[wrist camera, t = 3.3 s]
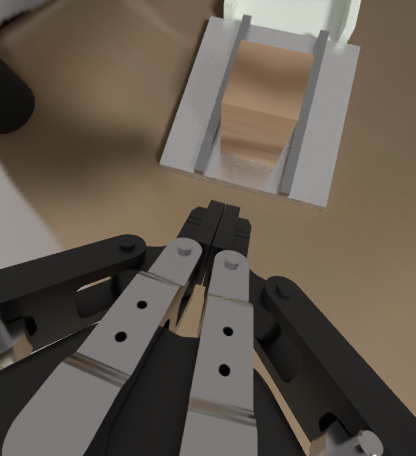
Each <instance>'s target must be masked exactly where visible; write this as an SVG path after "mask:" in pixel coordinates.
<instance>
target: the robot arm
mask: <svg viewBox="0 0 416 456" xmlns="http://www.w3.org/2000/svg"><path fill="white" fill-rule="evenodd" d="M224 208H225V210H224ZM239 211H240V207H236V206H232V205H229V204H226V207H225V203H221V202H217V201H214V200H211V202H210V204H209V206H208V208H207V209H206V208H202V207H197V208H195V209H194V210H192V211H191V213H190V215H189V217H188V218H187V220H186V222H185V224H184V226H183V227H182V229H181V231H180V233H179V234H178V236H177V238H176V239H173V240H172V241H170V242H169V244H168V245H166V246H161V247H152V246H146V243H145V241H144V240H143V239H142V238H140V237H138V236H136V235H130V234H125V235H120V236H116V237H113V238H109V239H105V240H102V241H98V242H95V243H91V244H88V245H84V246H81V247H77V248H74V249H70V250H67V251H63V252H60V253H56V254H52V255H49V256H45V257H42V258H38V259H35V260H31V261H28V262H24V263H21V264H18V265H14V266H10V267H7V268H3V269H0V456H306V454H305V453H304V451H303V449H302V447H301V445H300V443H299V441H298V440H297V438H296V436H295V434H294V432H293V430H292V429H291V427H290V425H289V423H288V421H287V419H286V417H285V416H284V414H283V412H282V410H281V408H280V406H279V405H278V403H277V401H276V399H275V397H274V395H273V393H272V392H271V390H270V388H269V386H268V385H267V383H266V382H265V380H264V379H263V378H262V376H261V375H260V374H259V373H258V372H257V371H256V370H255V369H254V368H253V348H254V349H255V351H256V353H257V354H258V356H259V358H260V359H261V361H262V363H263V364H264V366H265V368H266V369H267V371H268V373H269V374H270V376H271V378H272V379H273V381H274V383H275V384H276V386H277V388H278V389H279V391H280V393H281V394H282V396H283V398H284V399H285V401H286V403H287V404H288V406H289V408H290V409H291V411H292V413H293V414H294V416H295V418H296V419H297V421H298V423H299V424H300V426H301V428H302V429H303V431H304V433H305V434H306V436H307V438H308V439H309V441H310V443H311V445H310V450H309V456H416V417H415V416H414V415H413V414H412V413H411V412H410V411H409V409H408V408H407V407H406V406H405V405H404V404H403V403H402V402H401V401H400V399H399V398H398V397H397V396H396V395H395V394H394V393H393V392H392V390H391V389H390V388H389V387H388V386H387V385H386V384H385V383H384V382H383V380H382V379H381V378H380V377H379V376H378V375H377V374H376V373H375V372H374V370H373V369H372V368H371V367H370V366H369V365H368V364H367V363H366V361H365V360H364V359H363V358H362V357H361V356H360V355H359V354H358V353H357V351H356V350H355V349H354V348H353V347H352V346H351V345H350V344H349V342H348V341H347V340H346V339H345V338H344V337H343V336H342V335H341V334H340V332H339V331H338V330H337V329H336V328H335V327H334V326H333V325H332V324H331V322H330V321H329V320H328V319H327V318H326V317H325V316H324V315H323V313H322V312H321V311H320V310H319V309H318V308H317V307H316V306H315V305H314V303H313V302H312V301H311V300H310V299H309V298H308V297H307V296H306V295H305V293H304V292H303V291H302V290H301V289H300V288H299V287H298V286H297V285H296V284H295V283H294V282H293V281H291V280H289V279H287V278H285V277H281V276H273V277H270V278H268V279H267V281H266V280H264V279H263V278H261V277H259V276H257V275H256V274H255V273H253V272H252V271H251V270H250V268H249V262H248V260H247V253H248V246H249V239H250V233H251V225H250V223H249V221H248V220H247V219H243V218H239V217H238V216H239ZM205 272H206V273H205ZM204 275H205V277H204ZM109 276H110V279H109V280H107V281H104V282H101V283H99V284H96V285H94V286H91V287H88V288H86V289H83V290H80V291H78V292H76V291H77V290H78V289H80V288H81V287H83V286H85V285H88V284H90V283H93V282H96V281H98V280H101V279H104V278H106V277H109ZM203 278H204V281H203ZM202 281H203V285H202V286H204V287H206V288H205V292H204V303H203V308H202V312H201V317H200V322H199V327H198V332H197V337H196V338H193V337H181V336H179V335H177V334H176V332H177V330H178V328H179V325H180V323H181V321H182V319H183V317H184V315H185V313H186V310H187V308H188V306H189V304H190V302H191V300H192V296H193V292H194V288H195V285H196V284H198V285H201V284H202ZM100 320H101V321H100ZM98 321H100V322H99V323H96V322H98ZM94 323H96V324H94ZM92 324H93V325H92ZM90 325H91V326H90ZM85 327H86V328H85ZM72 333H73V334H72ZM70 334H71V335H70ZM68 335H69V336H68ZM66 336H67V337H66ZM64 337H65V338H64ZM61 338H63V339H61ZM59 339H61V340H59ZM57 340H59V341H57ZM55 341H57V342H56V343H53V342H55ZM51 343H53V344H51ZM49 344H51V345H49ZM46 345H49V346H47V347H45V348H44V349H41V350H39V351H37V352H35V353H33V354H31V353H32V352H34V351H35V350H38V349H40V348H42V347H44V346H46ZM30 354H31V355H30Z"/></svg>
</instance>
